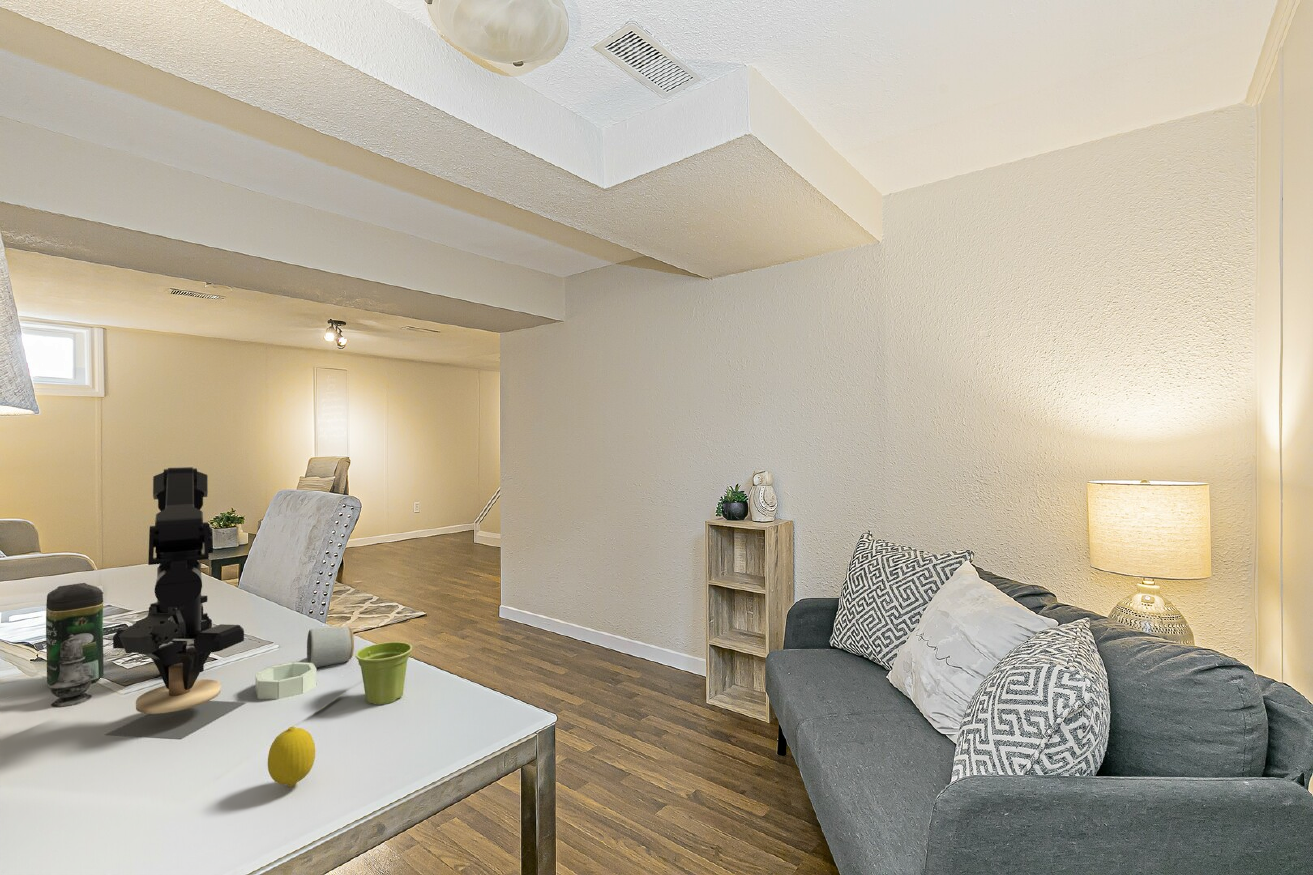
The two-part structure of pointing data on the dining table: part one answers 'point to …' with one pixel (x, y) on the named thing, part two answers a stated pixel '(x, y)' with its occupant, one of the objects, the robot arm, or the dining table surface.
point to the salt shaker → (71, 676)
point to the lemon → (291, 756)
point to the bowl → (285, 680)
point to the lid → (177, 694)
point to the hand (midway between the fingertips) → (179, 688)
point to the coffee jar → (75, 627)
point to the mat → (176, 721)
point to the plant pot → (384, 670)
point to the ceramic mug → (329, 645)
